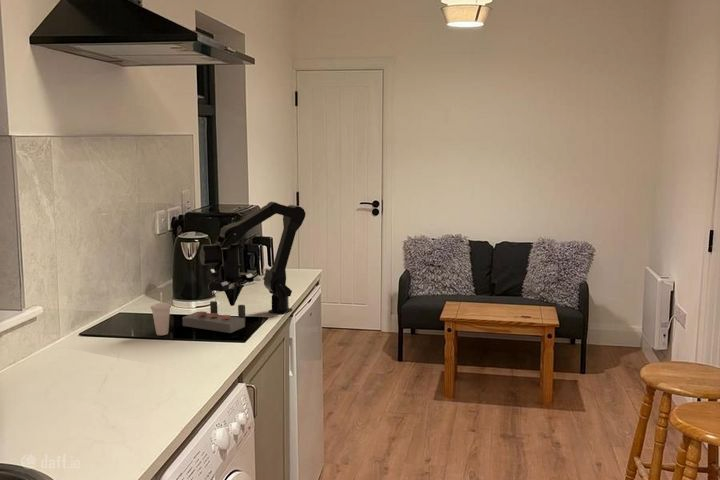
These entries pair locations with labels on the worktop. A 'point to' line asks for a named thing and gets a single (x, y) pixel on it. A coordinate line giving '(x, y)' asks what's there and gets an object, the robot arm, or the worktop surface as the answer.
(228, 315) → the paddle right
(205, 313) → the paddle left
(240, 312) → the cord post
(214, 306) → the peg
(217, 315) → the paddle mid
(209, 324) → the power strip
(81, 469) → the worktop surface
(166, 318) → the smoothie
